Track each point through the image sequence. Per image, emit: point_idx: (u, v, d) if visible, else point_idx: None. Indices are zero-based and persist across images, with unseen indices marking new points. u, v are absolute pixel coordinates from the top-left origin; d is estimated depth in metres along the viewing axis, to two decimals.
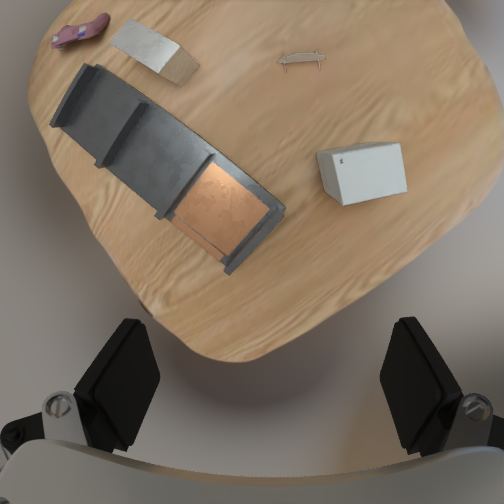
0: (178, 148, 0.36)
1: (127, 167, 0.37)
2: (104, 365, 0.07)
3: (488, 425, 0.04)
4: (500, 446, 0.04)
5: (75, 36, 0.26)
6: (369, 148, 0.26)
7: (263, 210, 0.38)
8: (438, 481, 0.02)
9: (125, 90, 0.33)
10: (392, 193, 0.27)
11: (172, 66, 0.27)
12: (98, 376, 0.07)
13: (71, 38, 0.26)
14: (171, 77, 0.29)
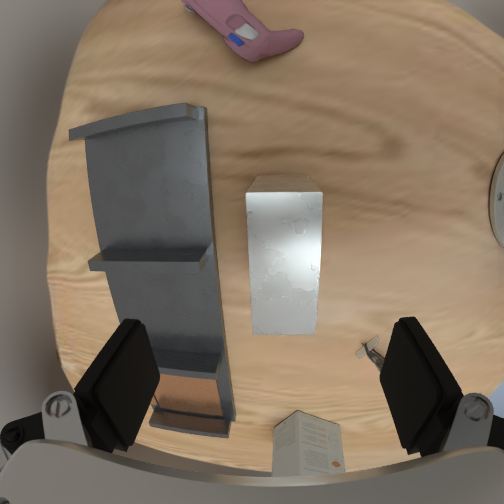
0: (193, 327, 0.28)
1: (125, 283, 0.27)
2: (104, 365, 0.07)
3: (489, 425, 0.04)
4: (500, 446, 0.04)
5: (225, 31, 0.14)
6: None
7: (217, 413, 0.33)
8: (438, 481, 0.02)
9: (199, 204, 0.23)
10: None
11: None
12: (98, 375, 0.07)
13: (216, 26, 0.14)
14: None
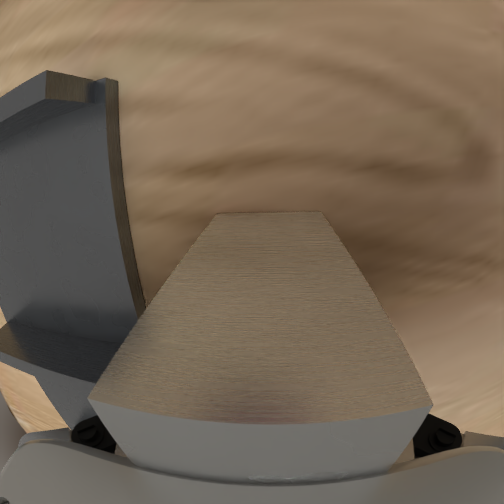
0: None
1: None
2: None
3: None
4: (414, 441, 0.05)
5: None
6: None
7: None
8: (438, 481, 0.02)
9: (109, 273, 0.11)
10: None
11: None
12: None
13: None
14: None
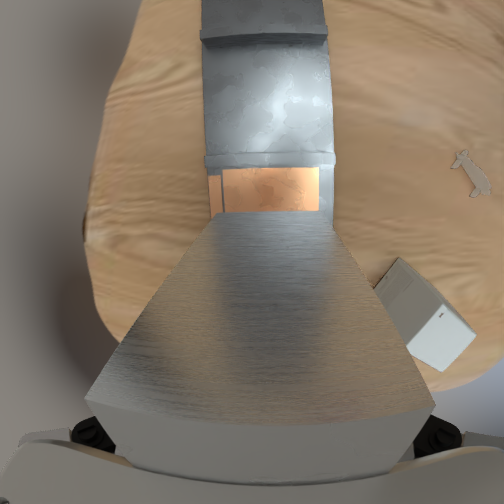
0: (301, 116, 0.24)
1: (225, 71, 0.23)
2: None
3: None
4: (414, 441, 0.05)
5: None
6: (461, 322, 0.20)
7: None
8: (438, 481, 0.02)
9: (314, 6, 0.19)
10: (434, 366, 0.22)
11: None
12: None
13: None
14: None
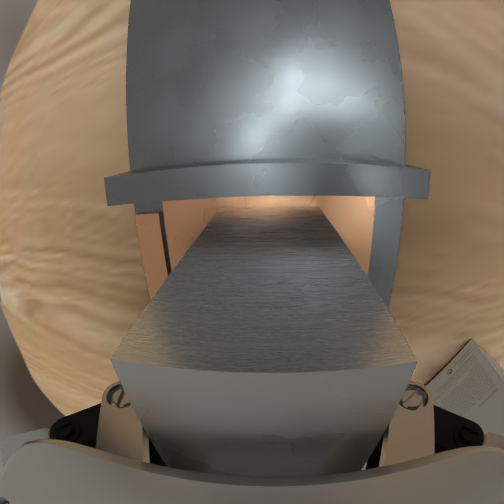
0: (337, 79, 0.10)
1: None
2: None
3: (431, 410, 0.05)
4: (441, 440, 0.05)
5: None
6: None
7: None
8: (438, 481, 0.02)
9: None
10: None
11: None
12: None
13: None
14: None
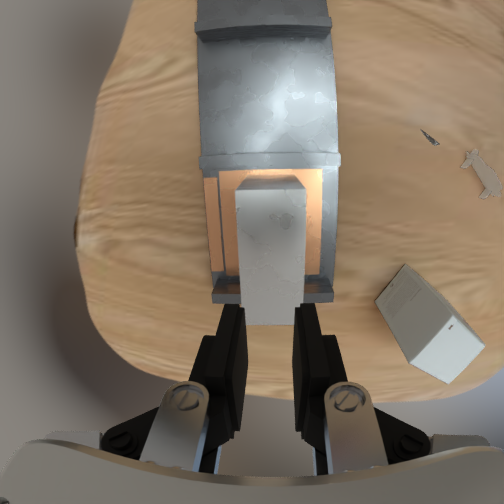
0: (303, 114, 0.22)
1: (222, 66, 0.21)
2: (226, 348, 0.08)
3: (370, 407, 0.06)
4: None
5: None
6: (471, 333, 0.18)
7: (312, 269, 0.27)
8: (438, 481, 0.02)
9: None
10: (441, 379, 0.20)
11: None
12: (226, 359, 0.07)
13: None
14: None
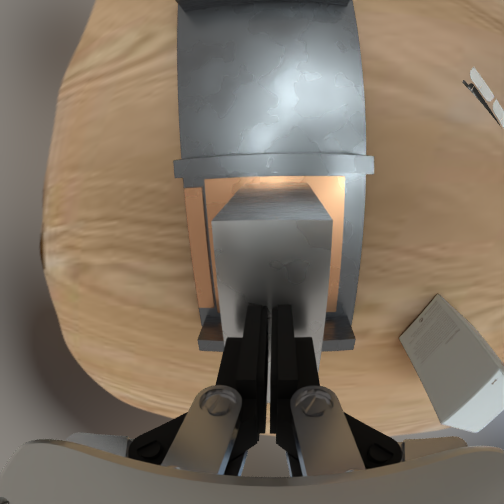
0: (319, 100, 0.16)
1: (209, 39, 0.14)
2: (255, 350, 0.08)
3: (339, 410, 0.06)
4: None
5: None
6: None
7: (327, 306, 0.21)
8: (438, 481, 0.02)
9: None
10: (471, 430, 0.14)
11: None
12: (257, 361, 0.07)
13: None
14: None
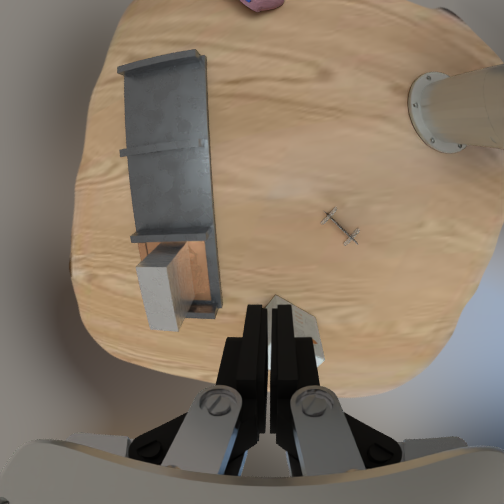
0: (190, 203, 0.38)
1: (142, 173, 0.37)
2: (255, 350, 0.08)
3: (340, 410, 0.06)
4: None
5: None
6: None
7: (206, 297, 0.43)
8: (438, 481, 0.02)
9: (199, 111, 0.33)
10: None
11: None
12: (257, 361, 0.07)
13: None
14: None
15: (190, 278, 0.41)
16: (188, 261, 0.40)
